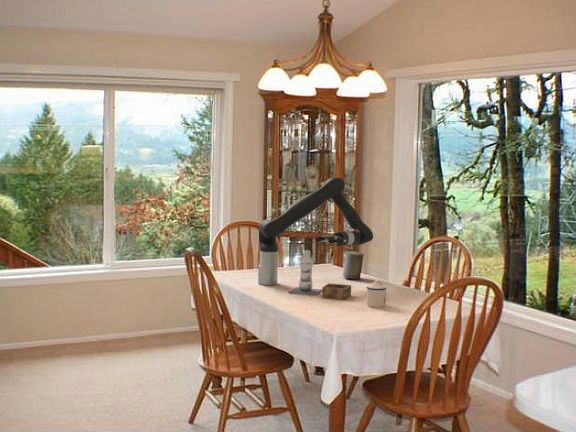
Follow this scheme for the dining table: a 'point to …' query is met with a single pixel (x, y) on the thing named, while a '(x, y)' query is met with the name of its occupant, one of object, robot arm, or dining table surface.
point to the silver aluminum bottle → (306, 271)
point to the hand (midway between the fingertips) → (322, 240)
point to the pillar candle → (353, 265)
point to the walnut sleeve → (336, 291)
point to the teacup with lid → (376, 295)
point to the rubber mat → (309, 292)
